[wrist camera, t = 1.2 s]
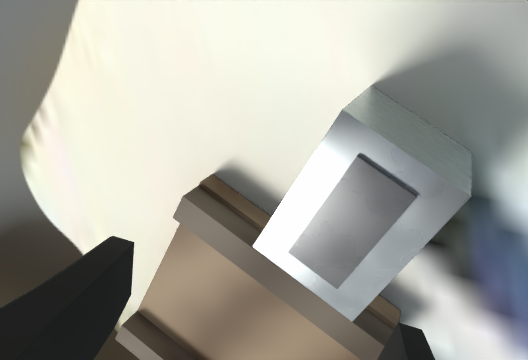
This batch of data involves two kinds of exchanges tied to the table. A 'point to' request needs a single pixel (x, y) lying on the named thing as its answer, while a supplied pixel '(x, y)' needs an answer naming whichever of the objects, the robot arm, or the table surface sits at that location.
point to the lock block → (367, 202)
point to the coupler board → (240, 296)
